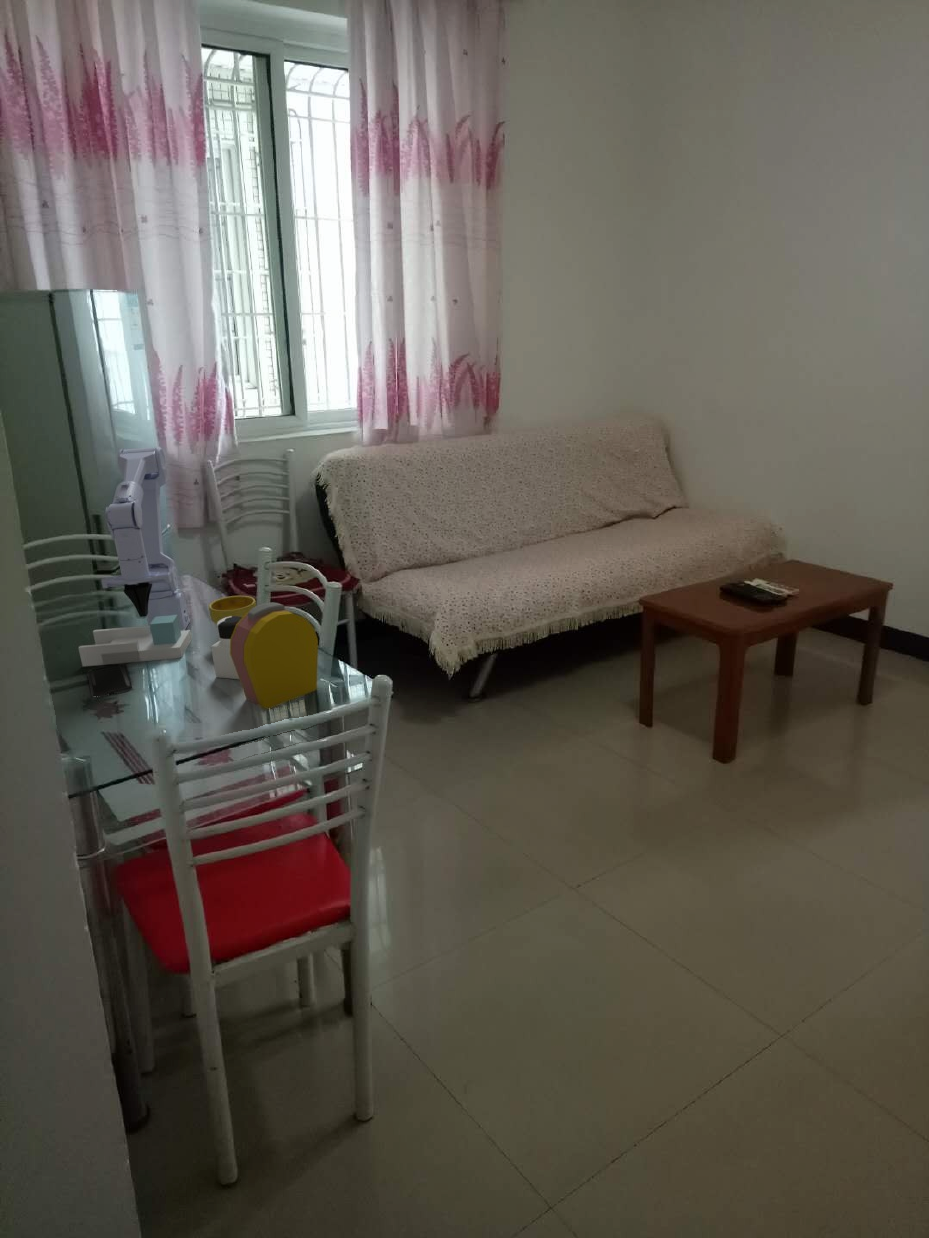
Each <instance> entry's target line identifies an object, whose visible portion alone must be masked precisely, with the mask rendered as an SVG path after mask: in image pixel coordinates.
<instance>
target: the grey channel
mask: <svg viewBox="0 0 929 1238" xmlns="http://www.w3.org/2000/svg"><path fill="white" fill-rule="evenodd" d="M92 634H93V638H94V642H95V644H89V645H88V644H87V645H79V646H78V653H79V656H80V661H81V665H82V668H83V667H93V666H105V665H116V664H121V663H123V664H126V663H138V662H147V661H148V662H149V661H159V660H171V659H180V658H183V656H184V654H186V653H185V652H186V651H187V649H188V647H189V645H190V644H191V642H192V640H193V639H192V633H191V629H187V630H186V629H185V630H184V631H181V637H180V638H179V640H178V641H177V643H172V644H160V645H154V643H153V638H152V633H151V631H150V626H149V625H148V624H147V625H138V626H128V627H127V626H125V627H113V628H105V629H94V630H93V631H92Z"/></svg>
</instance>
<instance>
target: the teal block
mask: <svg viewBox="0 0 929 1238" xmlns="http://www.w3.org/2000/svg"><path fill="white" fill-rule="evenodd" d="M150 628H151V633H152V638H153V643H154V645H160V644H172V643H177V641H178V640H179V638H180V637H181V630H180V625H179V619H178V615H169V616H158V617H155V618H154V619H153V620H152V622H151V623H150Z"/></svg>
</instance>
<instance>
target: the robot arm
mask: <svg viewBox="0 0 929 1238" xmlns="http://www.w3.org/2000/svg"><path fill="white" fill-rule="evenodd" d="M117 464H118V468H119V471H120V473H121V475H122V477H123V481H121V482H120V483H118V484H117V486H116V488H115V489H116V490H115V493H114V495H113V499H112V500H113V501H112V503H111V504H109V505H108V506H106V507H105V513H104V514H105V515H104V516H105V522H106V525H107V528H108V530H109V533H110V536H111V539H112V540H114V544H115V549H116V550H115V551H116V555H117V558H118V565H119V568H120V573H121V575H114V576H107V577H102V578H101V580H100V581H101V586H102V589H108V588H115V587H124V589H123V593H124V594H125V596H126V597H128V599H129V600H130V601H131V603H132V604H133V606H134V607H135V609H136V611H137V614H138V616H139V617H140V618H146V621H147V626H148V625H149V626H150V623H151V622H152V620H153V619H154V618H155V617H158V616H169V615H178V619H179V625H180V630H181V631H184V630H186V629H187V627H188V626H189V624H190V622H191V619H190V617H189V616H190V615H189V609H188V604H187V600H186V596H185V593H184V592H177V591H178V589H179V574H178V571H177V564H176V562H175V560H174V559H173V558H171V557H169V556H168V555H166V554H164V545H163V528H162V514H161V513H162V512H161V499H160V497H161V495H160V494H161V487H163V486H164V485H166V484H167V478H168V476H167V474H168V473H167V460H166V456H165V453H164V450H163V448H162V447H161V446H158V445H157V446H151V447H142V448H141V447H139V448H129V449H128V448H127V449H125V448H121V449H120V450H119V451H118V453H117ZM150 631H151V628H150Z"/></svg>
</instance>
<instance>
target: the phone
mask: <svg viewBox="0 0 929 1238" xmlns="http://www.w3.org/2000/svg"><path fill="white" fill-rule="evenodd" d="M128 671H129V670H128V668H127V665H126V663H117V664H110V665H107V666H102V667H97V668H93V669H89V670H88V671H87V681H88V684H89V689H90V694H91V697H92V696H96V697H97V696H98V697H99V696H104V695H108V694H112V695H116V694H115V693H117V694H120V693H126V692H129V691H131V690H133V684H132V681H131V678H130V675H129V672H128ZM113 693H114V694H113ZM108 696H109V695H108ZM104 697H105V696H104ZM99 698H100V697H99Z"/></svg>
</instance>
